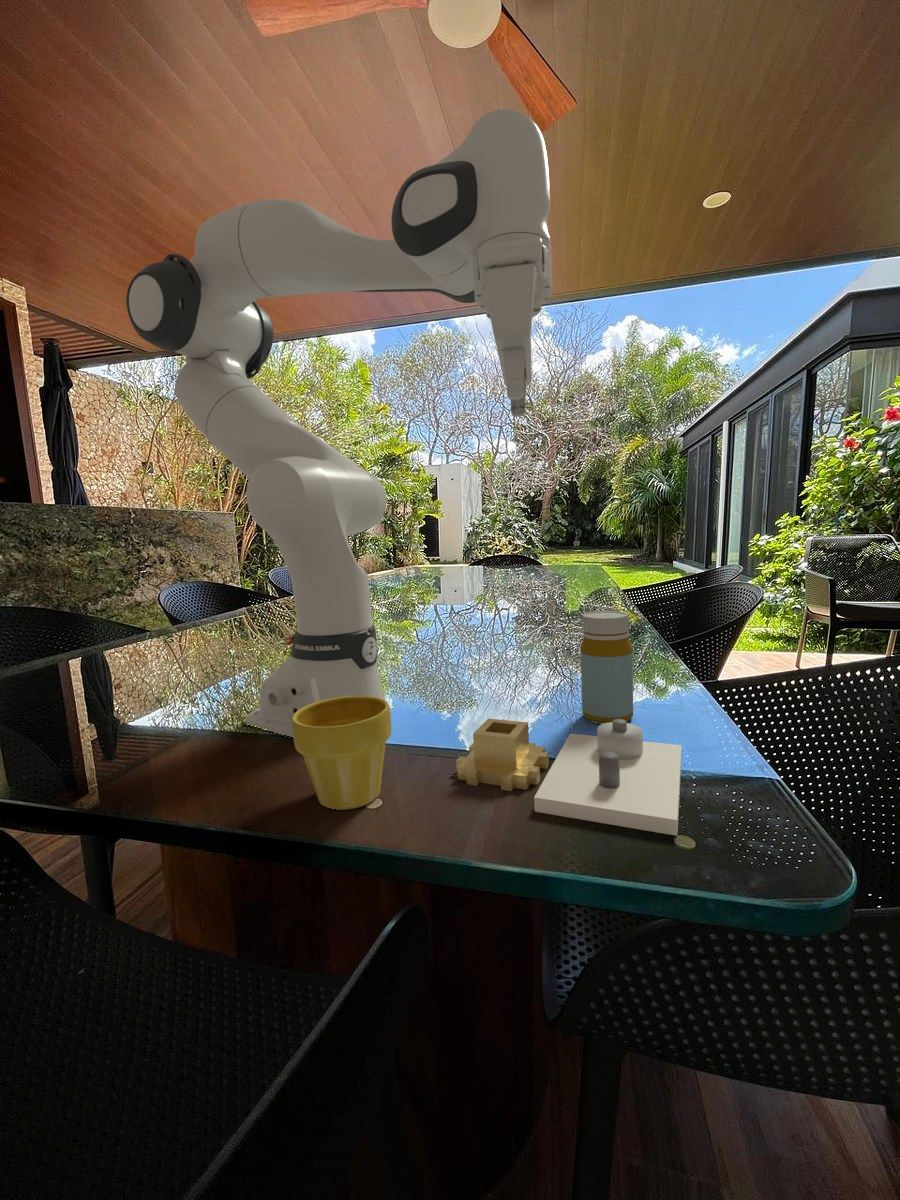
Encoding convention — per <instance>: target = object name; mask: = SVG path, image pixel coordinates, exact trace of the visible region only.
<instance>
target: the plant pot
mask: <svg viewBox="0 0 900 1200" xmlns="http://www.w3.org/2000/svg"><path fill="white" fill-rule="evenodd" d="M385 700H386V699H385ZM385 700H384V699H381V698H378V697H372V696H344V697H337V698H331V699H326V700H322V701H318V702H315V703H312V704H309V705H307V706H305V707H303V708H301V709H299V710H298V711H296V712H295V713H294V715H293V716H292V730H293V738H292V739H293V743H294V748H295V750H296V751H297V752H298V753H299V754H301V755H302V757H303V759H304V762H305V765H306V768H307V771H308V773H309V776H310V780H311V782H312V785H313V788H314V790H315V793H316V796H317V800H318V802H319V804H320V805H322V807H324V806H325V807H324V808H326V807H327V809H329V808H331V809H330V810H334V809H336V811H346V810H347V811H348V809H349V810H354V809H358V808H361V807H364V806H366V805H368V804H371V803H372V802H373V801H375V800H376V799H377V798H378V796H379V795H380V792H381V786H382V785H381V784H382V777H383V769H384V768H383V767H384V760H385V754H386V753H385V750H386V743H387V742H388V740H389V739H390V738H391V736H392V716H391V708H390V704H389V702H388V701H387V700H386V701H385Z"/></svg>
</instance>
